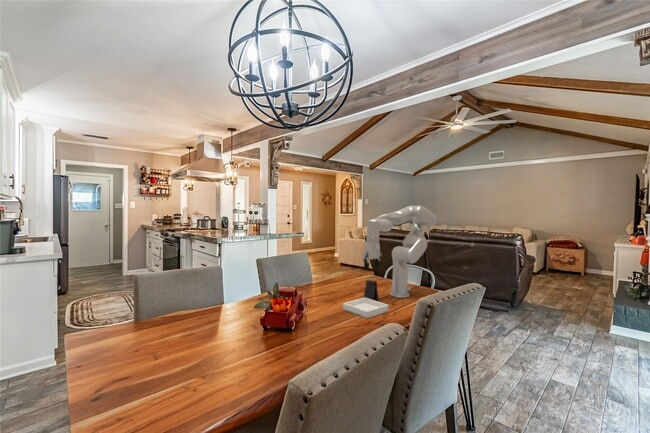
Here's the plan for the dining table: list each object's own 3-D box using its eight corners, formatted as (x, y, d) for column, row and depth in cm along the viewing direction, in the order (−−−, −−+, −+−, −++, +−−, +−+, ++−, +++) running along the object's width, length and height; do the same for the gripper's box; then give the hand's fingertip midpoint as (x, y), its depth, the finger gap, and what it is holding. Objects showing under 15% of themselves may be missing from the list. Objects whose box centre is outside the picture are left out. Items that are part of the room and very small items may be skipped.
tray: (364, 303, 176) (364, 297, 176) (388, 311, 164) (388, 304, 164) (342, 309, 164) (343, 303, 164) (366, 318, 152) (367, 312, 152)
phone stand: (371, 303, 177) (371, 283, 176) (362, 301, 180) (363, 281, 180) (378, 300, 183) (379, 280, 183) (370, 297, 187) (371, 278, 187)
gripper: (376, 238, 189) (375, 265, 190) (358, 239, 178) (357, 268, 178) (386, 239, 184) (385, 267, 184) (368, 241, 172) (367, 271, 173)
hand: (371, 268), depth 181 cm, fingers open, 9 cm apart
